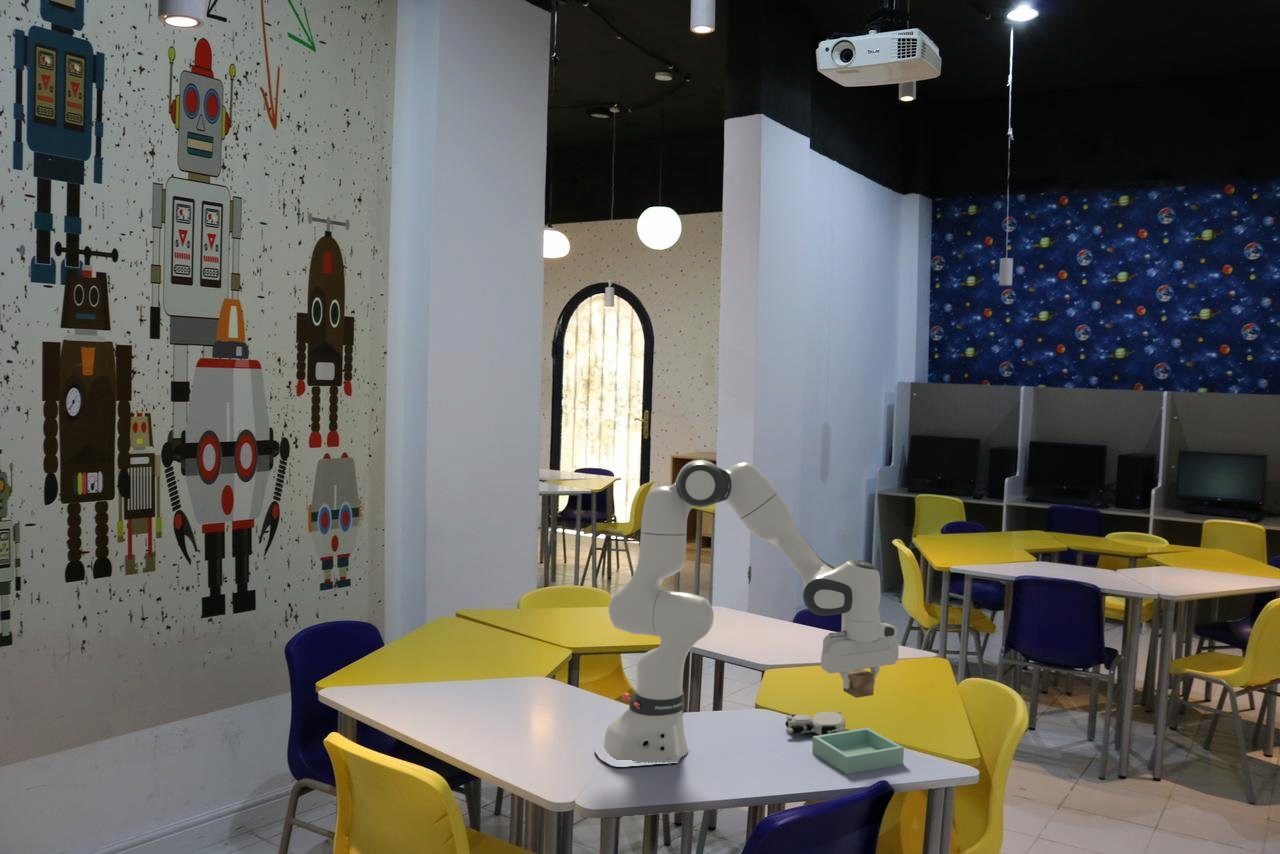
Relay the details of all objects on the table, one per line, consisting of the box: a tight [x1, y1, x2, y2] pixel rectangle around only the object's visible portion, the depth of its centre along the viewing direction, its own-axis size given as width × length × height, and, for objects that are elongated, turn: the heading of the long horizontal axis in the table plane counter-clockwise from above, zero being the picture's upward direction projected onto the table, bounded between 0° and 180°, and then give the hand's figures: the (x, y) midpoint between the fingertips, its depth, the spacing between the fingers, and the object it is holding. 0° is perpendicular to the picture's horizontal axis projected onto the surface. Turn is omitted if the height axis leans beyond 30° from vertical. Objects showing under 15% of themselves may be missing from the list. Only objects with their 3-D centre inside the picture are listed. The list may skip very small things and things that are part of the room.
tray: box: [812, 727, 905, 775], centre depth 241 cm, size 16×14×4 cm
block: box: [843, 669, 875, 699], centre depth 241 cm, size 5×5×5 cm
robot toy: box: [785, 711, 846, 736], centre depth 258 cm, size 12×4×15 cm
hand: (859, 686), depth 241 cm, fingers closed on block, 5 cm apart
